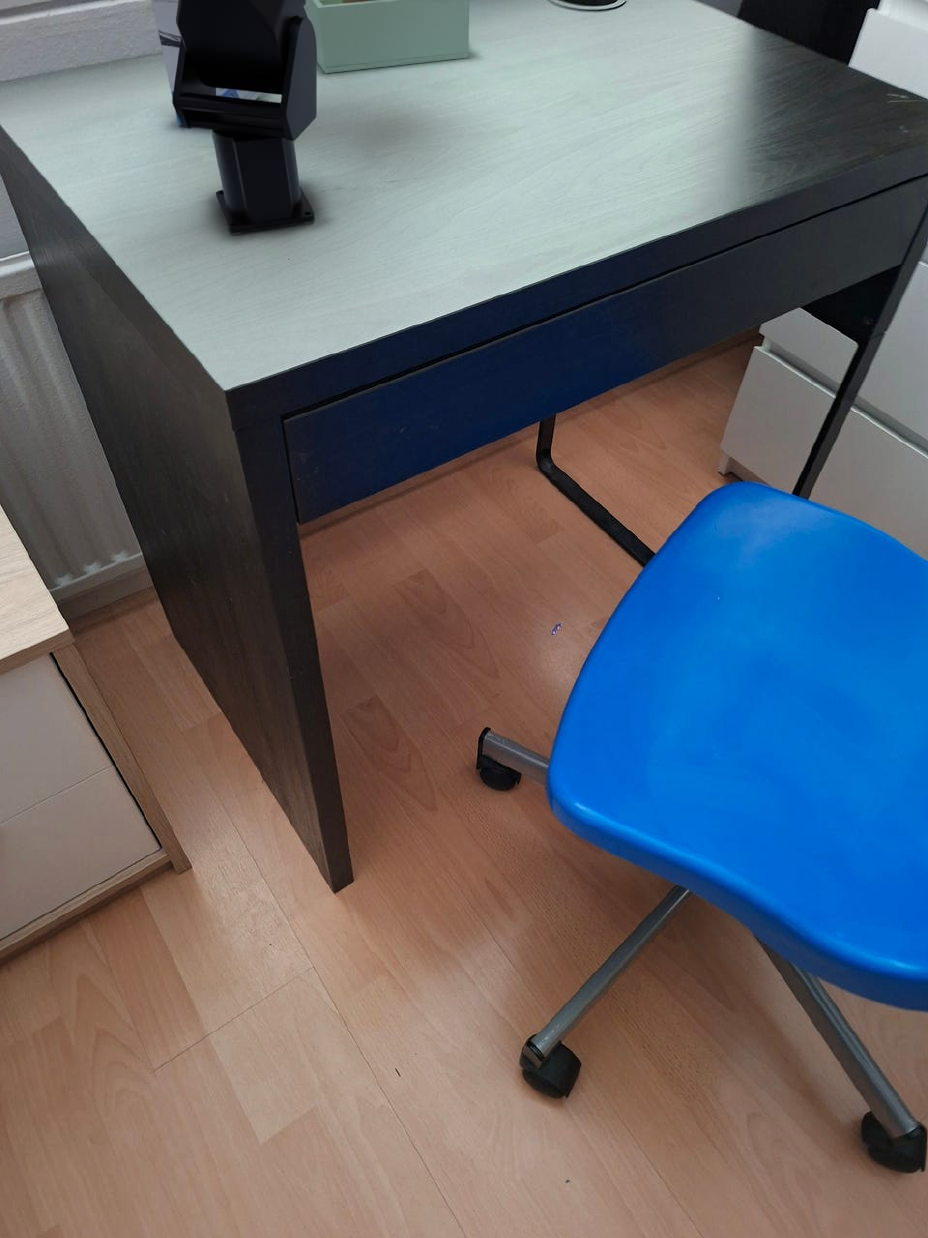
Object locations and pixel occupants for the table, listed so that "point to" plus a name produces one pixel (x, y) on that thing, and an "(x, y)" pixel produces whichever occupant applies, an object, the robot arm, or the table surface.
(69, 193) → the table surface
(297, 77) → the robot arm
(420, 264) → the table surface
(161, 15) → the ink box
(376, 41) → the tub
